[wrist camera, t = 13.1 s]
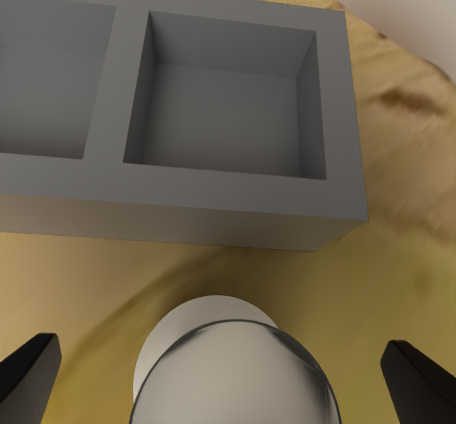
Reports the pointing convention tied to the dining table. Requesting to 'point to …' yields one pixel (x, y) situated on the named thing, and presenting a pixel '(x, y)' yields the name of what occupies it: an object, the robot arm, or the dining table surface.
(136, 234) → the compartment tray
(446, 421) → the robot arm
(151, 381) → the plug
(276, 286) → the dining table surface
